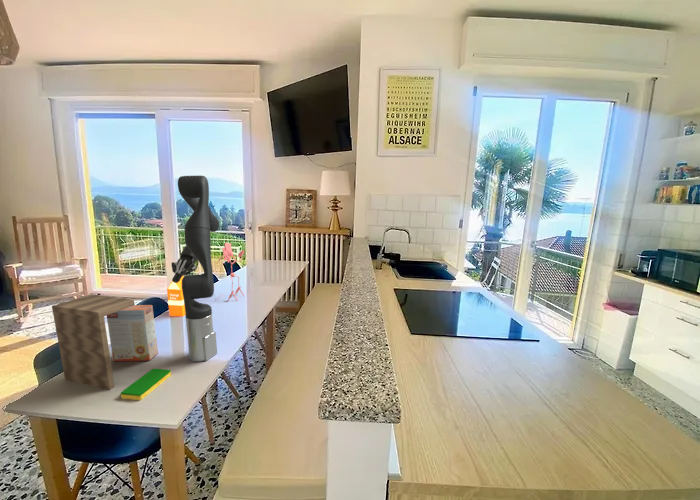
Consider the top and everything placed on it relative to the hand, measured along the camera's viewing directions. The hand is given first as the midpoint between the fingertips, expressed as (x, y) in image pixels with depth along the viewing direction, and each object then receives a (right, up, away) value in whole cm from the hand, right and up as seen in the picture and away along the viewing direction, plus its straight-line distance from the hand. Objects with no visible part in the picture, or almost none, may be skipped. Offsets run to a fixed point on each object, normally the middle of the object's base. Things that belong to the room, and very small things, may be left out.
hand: (174, 282), depth 135 cm
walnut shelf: (-9, -30, -28) cm, 42 cm away
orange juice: (-13, -20, +28) cm, 37 cm away
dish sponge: (+10, -32, -33) cm, 47 cm away
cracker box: (-6, -28, -16) cm, 33 cm away
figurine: (+4, -16, +52) cm, 55 cm away
